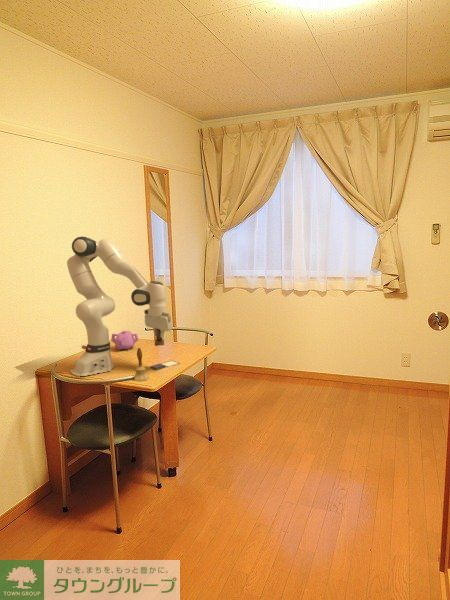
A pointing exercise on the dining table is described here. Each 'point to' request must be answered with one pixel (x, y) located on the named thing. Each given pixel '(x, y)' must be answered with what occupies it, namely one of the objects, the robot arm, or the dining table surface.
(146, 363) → the dining table surface
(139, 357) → the hand bell
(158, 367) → the ink pad
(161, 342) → the stamp
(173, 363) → the marked card
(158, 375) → the dining table surface
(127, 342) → the pot
